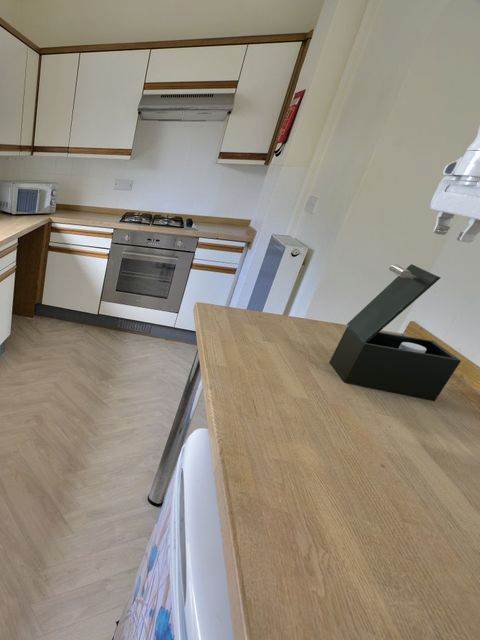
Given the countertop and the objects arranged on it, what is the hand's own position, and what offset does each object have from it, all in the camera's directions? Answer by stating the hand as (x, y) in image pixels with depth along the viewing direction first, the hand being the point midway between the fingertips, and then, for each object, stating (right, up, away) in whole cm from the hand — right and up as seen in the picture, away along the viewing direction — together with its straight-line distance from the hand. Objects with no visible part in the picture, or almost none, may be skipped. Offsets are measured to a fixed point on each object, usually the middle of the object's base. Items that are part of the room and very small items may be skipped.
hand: (450, 237), depth 88 cm
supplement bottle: (-6, -31, +6) cm, 32 cm away
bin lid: (-13, -14, 0) cm, 19 cm away
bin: (-10, -31, +6) cm, 33 cm away
